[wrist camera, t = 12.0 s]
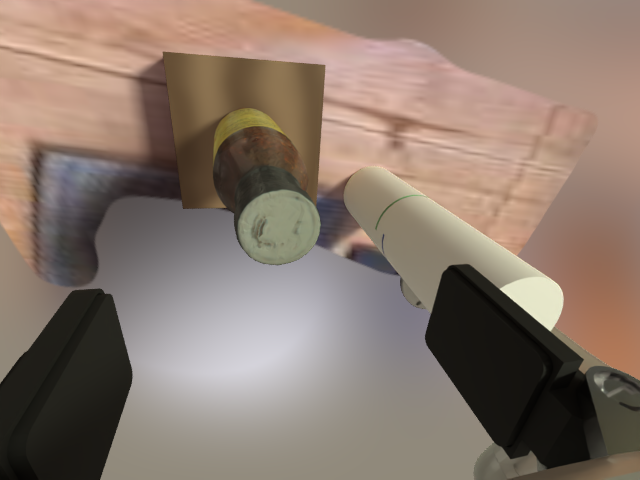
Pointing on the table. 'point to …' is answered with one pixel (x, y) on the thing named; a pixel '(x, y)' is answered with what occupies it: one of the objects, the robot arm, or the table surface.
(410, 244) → the cylindrical container
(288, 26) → the table surface
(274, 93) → the walnut plinth
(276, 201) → the sauce bottle
